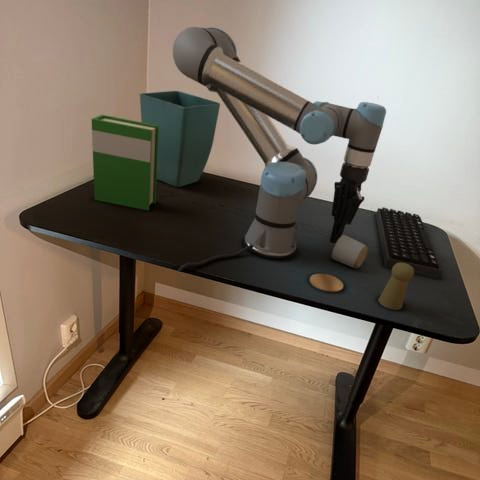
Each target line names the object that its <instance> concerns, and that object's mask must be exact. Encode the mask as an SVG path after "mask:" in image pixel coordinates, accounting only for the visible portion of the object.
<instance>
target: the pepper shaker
mask: <svg viewBox="0 0 480 480" xmlns="http://www.w3.org/2000/svg"><path fill="white" fill-rule="evenodd" d="M414 274H415V273H414V269H413V267H412V266H410V265H408V264H406V263H396V264H395V265H394V266H393V268H391V276H390V278H389V280H388V281H387V283H386V285H385V287H384V289H383V291H382V292H381V294H380V296H379V298H378V303H379V304H380V305H381V306H383V307H384V308H387V309H389V310H394V311H397V310H401V309H402V308H403V306H404V305H403V304H404V301H405V296H406V292H407V288H408V285H409V281H410V280H412V278H413V277H414Z"/></svg>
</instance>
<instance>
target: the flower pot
mask: <svg viewBox="0 0 480 480" xmlns="http://www.w3.org/2000/svg"><path fill="white" fill-rule="evenodd" d="M139 105H140V107H139V108H140V118H141V119H140V122H143V123H148V124H153V125H158V126H159V138H158V161H157V181H160V182H162V183H165V184H168V185H170V186H173V187H176V188H181V187H183V186H187V185H190V184H193V183H196V182H199V180H200V178H201V176H202V174H203V172H204V171H205V168H206V166H207V164H208V160H209V158H210V155H211V152H212V147H213V145H214V139H215V134H216V130H217V129H216V128H217V123H218V118H219V112H220V107H221V103H220V102H218V101H214V100H211V99H207V98H204V97H200V96H197V95H193V94H190V93H188V92H183V91H179V90H168V91H155V92H153V91H152V92H143V93H139Z"/></svg>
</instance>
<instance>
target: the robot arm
mask: <svg viewBox="0 0 480 480" xmlns="http://www.w3.org/2000/svg"><path fill="white" fill-rule="evenodd" d="M172 59H173V61H174V64H175V67H176V68H177V69H178V71H179V72H180V73H181V74H182V75H184V76H185V77H186V78H188V79H191V80H192V81H194V82H195V83H197V84H198V83H199V84H200V85H201V86H204V87H205V88H207V90H208V91H209V92H213V93H216V94H217V95H218V97H219V98H220V99H221V101H222V102H223V104H224V106H225V107H226V108H227V110H228V111H229V113H230V114H231V115H232V117H233V119H234V120H235V122H236V123H237V125H238V126H239V127H240V129H241V130H242V132H243V134H244V135H245V136H246V138H247V139H248V142H250V144H251V145H252V147H253V148H254V150H255V151H256V153H257V154H258V156H259V157H260V159H261V160H262V162H263V163H264V168H263V171H262V174H261V177H260V185H259V190H258V196H257V203H256V208H255V214H254V219H253V221H252V222H251V224H250V226H249V228H248V230H247V232H246V233H245V236H244V239H243V240H244V241H243V245H244V247H243V248H242V249H241V250H238V251H235V252H233V253H227V254H218V255H214V256H211V257H208V258H206V259H204V260H202V261H198V262H187V263H185V264H182V265H181V266H180V267H179V268H178V269H177V272H182V271H183V270H184V269H186V268H188V267H200V266H202V265H205V264H208V263H210V262H213V261H215V260H218V259H219V260H220V259H225V258H233V257H238V256H240V255H241V254H243V253H245V252H246V251H249V252H250V253H252V254H254V255H256V256H258V257H261V258H265V259H271V260H285V259H290V258H291V257H293V256H294V255H296V249H297V234H296V229H295V227H296V221H297V218H298V214H299V209H300V206H301V204H302V203H303V202H304V201H305V200H306V199H307V198H308V197H309V196H311V195H312V193H313V192H314V190H315V188H316V185H317V183H318V171H317V167H316V166H315V164H314V163H313V162H312V161H311V160H310V159H308V158H306V157H304V156H303V155H302V152H300V150H299V149H298V147H297V146H293V145H289V143H288V142H287V140H286V138H285V137H284V136H283V134H282V133H281V131H280V129H279V128H278V127H277V125H276V124H275V122H274V121H276V122H278V123H280V124H282V125H283V126H285V127H287V128H288V129H291V130H292V131H294V132H296V133H298V134H299V135H300V137H301V138H302V139H303V140H304V142H305V143H307V144H310V145H320V144H324V143H326V142H327V141H328V140H329V139H331V138H332V137H338V138H341V139H347V140H348V143H347V146H346V149H345V153H344V155H343V162H342V165H341V168H340V172H339V176H340V181H335V182H334V183H333V184H334V187H333V188H334V191H333V192H334V193H333V200H332V207H331V214H330V215H331V217H333V220H334V221H333V224H332V229H331V230H332V231H331V233H330V238H329V243H330V244H336V243H337V241H338V239H339V238H340V237H341V236H342V235H344V230H345V227H346V225H349V226H350V225H351V224H352V222H353V220H354V218H355V216H356V214H357V212H358V210H359V208H360V206H361V204H362V203H363V202H364V201H365V196H364V195H363V196H362V194H361V192H362V185H363V183H365V182H366V181H367V179H368V175H369V173H370V168H369V167H371V165H372V163H373V162H372V161H373V158H374V154H375V151H376V149H377V146H378V143H379V139H380V137H381V133H382V130H383V127H384V123H385V118H386V115H387V109H386V107H385V106H383V105H381V104H378V103H373V102H368V101H361V102H359V103H358V104H357V105H358V106H357V107H356V108H351V107H347V106H343V105H338V104H334V103H330V102H328V101H319V100H317V101H314V102H312V101H310V100H308V99H306V98H304V97H303V96H301V95H299V94H298V93H295V92H293V91H292V90H290V89H288V88H286V87H285V86H282V85H281V84H279V83H277V82H275V81H273V80H272V79H269V78H268V77H266V76H264V75H263V74H260V73H259V72H257V71H255V70H253V69H251V68H249V67H248V66H246V65H244V64H243V62H242V61H241V60H240V58H239V56H238V51H237V47H236V44H235V41H234V39H233V37H231V35H230V34H228V33H227V32H226V31H224V30H222V29H220V28H217V27H201V26H200V27H199V26H189V27H186V28H185V29H182V30H181V31H180V32H179V33H178V34H177V35H176V37H175V39H174V41H173V44H172ZM161 400H162V401H165V400H166V398H165V397H163V398H161Z"/></svg>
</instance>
